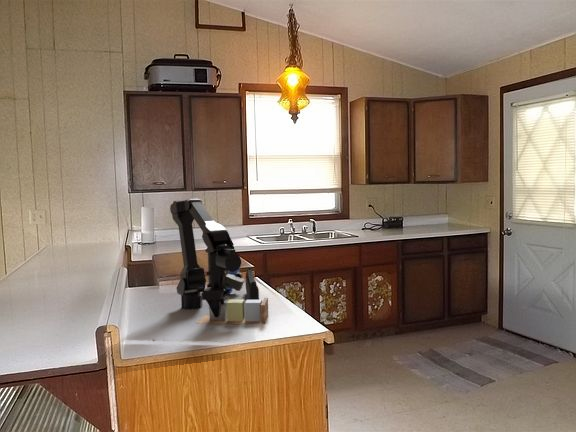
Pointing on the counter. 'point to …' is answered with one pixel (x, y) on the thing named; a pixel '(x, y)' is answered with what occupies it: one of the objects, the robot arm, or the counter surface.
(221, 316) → the grey cube-like block
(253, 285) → the magazine
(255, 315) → the pale blue block
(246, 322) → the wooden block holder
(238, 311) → the pale yellow block
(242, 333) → the counter surface
